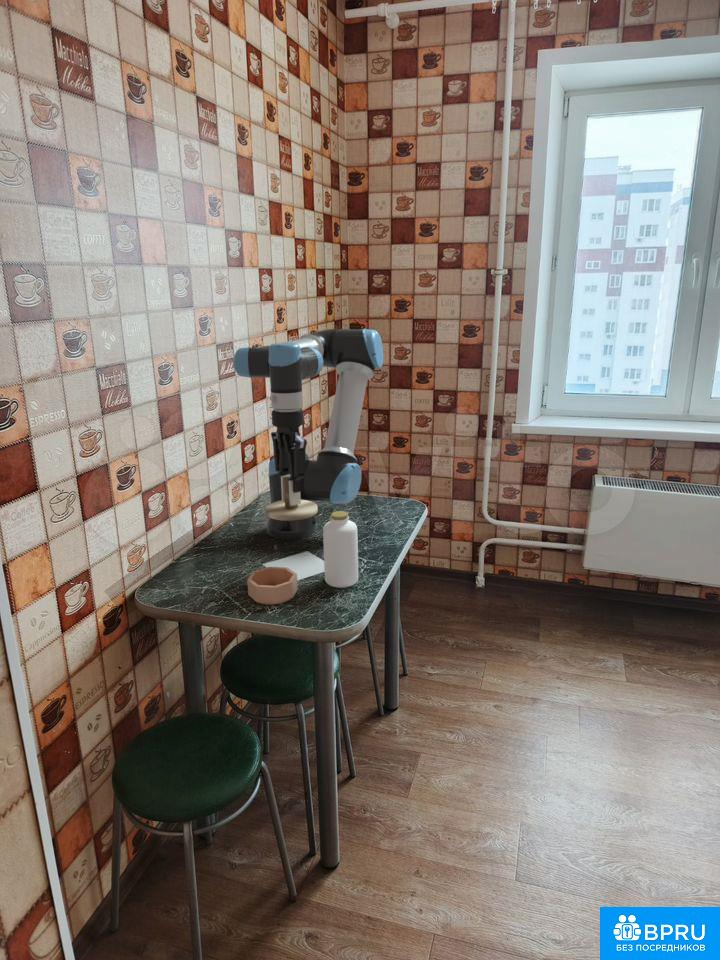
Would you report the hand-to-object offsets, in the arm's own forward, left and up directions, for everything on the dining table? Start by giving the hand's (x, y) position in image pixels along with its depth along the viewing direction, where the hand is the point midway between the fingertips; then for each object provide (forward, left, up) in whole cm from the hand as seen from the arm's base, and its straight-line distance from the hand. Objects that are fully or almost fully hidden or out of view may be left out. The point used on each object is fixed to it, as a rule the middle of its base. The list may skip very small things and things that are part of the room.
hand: (291, 502), depth 162 cm
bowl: (+8, -11, -19) cm, 23 cm away
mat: (-2, +2, -19) cm, 19 cm away
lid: (0, 0, -3) cm, 3 cm away
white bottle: (+12, +6, -19) cm, 24 cm away
